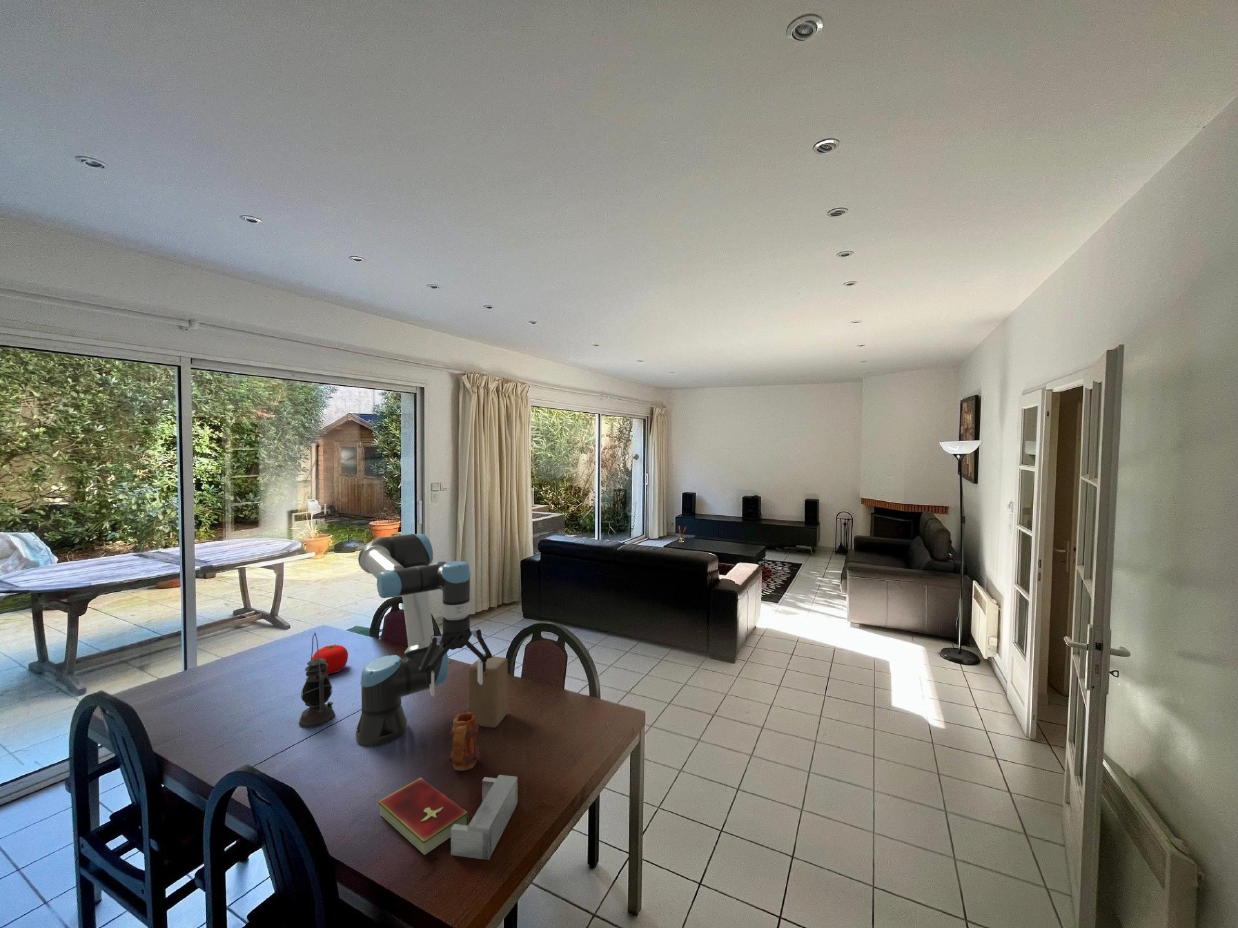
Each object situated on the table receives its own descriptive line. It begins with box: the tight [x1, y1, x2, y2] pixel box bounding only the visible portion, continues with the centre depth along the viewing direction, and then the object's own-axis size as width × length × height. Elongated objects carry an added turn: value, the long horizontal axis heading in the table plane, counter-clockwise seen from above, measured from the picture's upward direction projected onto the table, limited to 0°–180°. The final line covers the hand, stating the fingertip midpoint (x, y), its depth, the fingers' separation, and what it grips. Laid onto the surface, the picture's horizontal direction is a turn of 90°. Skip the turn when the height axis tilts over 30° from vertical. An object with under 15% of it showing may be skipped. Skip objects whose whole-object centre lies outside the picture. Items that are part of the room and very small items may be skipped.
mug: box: [448, 711, 482, 771], centre depth 141 cm, size 15×8×15 cm, turn 5°
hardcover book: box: [377, 777, 470, 856], centre depth 122 cm, size 12×21×4 cm, turn 52°
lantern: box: [298, 632, 336, 729], centre depth 168 cm, size 12×11×30 cm
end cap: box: [450, 774, 519, 861], centre depth 120 cm, size 9×18×7 cm, turn 171°
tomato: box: [312, 643, 349, 675], centre depth 205 cm, size 14×13×10 cm
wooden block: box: [468, 656, 509, 728], centre depth 168 cm, size 10×10×20 cm
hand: (456, 688), depth 143 cm, fingers open, 13 cm apart
